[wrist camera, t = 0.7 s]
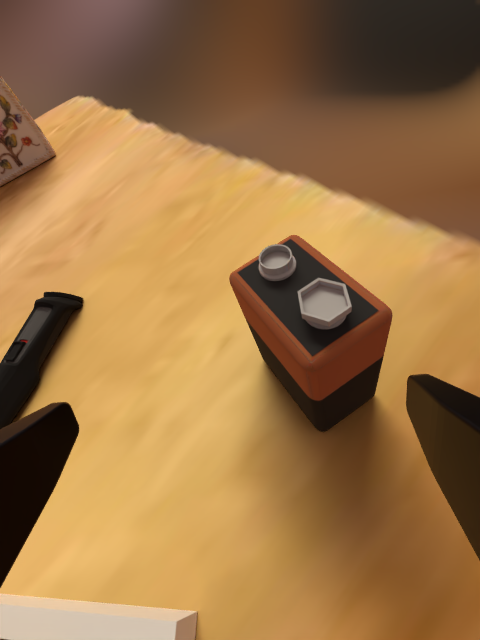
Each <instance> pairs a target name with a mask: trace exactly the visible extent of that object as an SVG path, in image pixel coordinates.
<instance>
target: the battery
mask: <svg viewBox="0 0 480 640" xmlns="http://www.w3.org/2000/svg"><path fill="white" fill-rule="evenodd" d="M229 279H230V284H231V286H232V288H233V291H234V293H235V295H236V298H237V300H238V302H239V305H240V307H241V309H242V311H243V314H244V316H245V318H246V321H247V323H248V325H249V328H250V330H251V332H252V335H253V337H254V339H255V341H256V344H257V346H258V348H259V351H260V353H261V355H262V357H263V359H264V361H265V362H266V364H267V365H268V366H269V368H270V369H271V370H272V371H273V373H274V374H275V375H276V377H277V378H278V379H279V381H280V382H281V383H282V385H283V386H284V387H285V389H286V390H287V391H288V392H289V394H290V395H291V396H292V398H293V399H294V400H295V402H296V403H297V404H298V406H299V407H300V408H301V410H302V411H303V412H304V414H305V415H306V416H307V417H308V419H309V420H310V421H311V423H312V424H313V425H314V426H315V428H316V429H317V430H319V431H322V432H324V431H327V430H328V429H330V428H331V427H332V426H334V425H335V424H337V423H338V422H339V421H341V420H342V419H343V418H345V417H346V416H348V415H349V414H350V413H352V412H353V411H354V410H356V409H357V408H359V407H360V406H361V405H363V404H364V403H365V402H367V401H368V400H370V399H371V398H372V397H373V396H374V394H375V391H376V386H377V382H378V378H379V373H380V369H381V365H382V360H383V356H384V351H385V347H386V343H387V338H388V334H389V330H390V325H391V321H392V311H391V309H390V308H389V307H388V306H387V305H386V304H384V303H383V302H382V301H381V300H380V299H378V298H377V297H376V296H374V295H373V294H372V293H371V292H369V291H368V290H367V289H366V288H364V287H363V286H362V285H360V284H359V283H358V282H357V281H355V280H354V279H353V278H352V277H350V276H349V275H348V274H347V273H345V272H344V271H343V270H341V269H340V268H339V267H338V266H336V265H335V264H334V263H333V262H331V261H330V260H329V259H327V258H326V257H325V256H324V255H322V254H321V253H320V252H319V251H317V250H316V249H315V248H313V247H312V246H311V245H310V244H308V243H307V242H306V241H305V240H303V239H302V238H300V237H299V236H297V235H291V236H289V237H287V238H286V239H284V240H282V241H281V242H279V243H278V244H275V245H271V246H268V247H266V248H265V249H264V250H262V252H261V253H260V255H259V256H257V257H256V258H254V259H252V260H251V261H249V262H248V263H246V264H245V265H243V266H241V267H240V268H238V269H237V270H235V271H234V272H232V273H231V274H230V278H229Z"/></svg>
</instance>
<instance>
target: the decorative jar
mask: <svg viewBox="0 0 480 640" xmlns="http://www.w3.org/2000/svg"><path fill="white" fill-rule="evenodd" d="M54 156H55V151H54V149H53V148H52V147H51V145H50V143H49V142H48V140H47V139H46V137H45V135H44V134H43V132H42V131H41V129H40V128H39V127H38V125H37V124H36V123H35V121H34V120H33V118H32V117H31V116H30V114H29V113H28V112H27V110H26V109H25V107H24V106H23V105H22V104H21V102H20V101H19V100H18V98H17V97H16V95H15V94H14V93H13V91H12V90H11V89H10V87H9V86H8V85H7V83H6V82H5V81H4V79H3V78H2V77H1V76H0V187H1V186H3V185H4V184H6V183H8V182H10V181H12V180H13V179H15V178H17V177H18V176H20V175H22V174H24V173H25V172H27V171H29V170H31V169H33V168H34V167H36V166H38V165H40V164H42V163H43V162H45V161H47V160H49V159H50V158H52V157H54Z"/></svg>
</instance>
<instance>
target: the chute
mask: <svg viewBox="0 0 480 640" xmlns="http://www.w3.org/2000/svg"><path fill="white" fill-rule="evenodd" d="M196 622H197V611H188V610H177V609H166V608H155V607H144V606H133V605H122V604H111V603H100V602H88V601H77V600H66V599H55V598H44V597H33V596H22V595H11V594H0V639H8V640H195V635H196Z"/></svg>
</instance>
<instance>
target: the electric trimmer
mask: <svg viewBox="0 0 480 640" xmlns="http://www.w3.org/2000/svg"><path fill="white" fill-rule="evenodd" d="M82 300H83V298H81V297H78V296H75V295H71V294H67V293H60V292H44V297H43V298H41V299H38V300H36V301H35V304H34V309H33V310H32V312H31V314H30V315H29V317H28V319H27V320H26V322H25V324H24V325H23V327H22V328H21V330H20V332H19V333H18V335H17V337H16V338H15V340H14V342H13V343H12V345H11V346H10V348H9V350H8V351H7V353H6V355H5V356H4V358H3V360H2V361H1V363H0V429H2V428H4V427H6V426H8V425H9V424H10V423H11V421H12V420H13V419H14V417H15V416H16V414H17V413H18V411H19V410H20V409H21V407H22V406H23V404H24V403H25V401H26V400H27V399H28V397H29V396H30V394H31V393H32V391H33V390H34V388H35V387H36V385H37V384H38V382H39V368H40V366H41V364H42V363H43V361H44V359H45V357H46V356H47V354H48V352H49V351H50V349H51V347H52V345H53V344H54V342H55V340H56V339H57V337H58V335H59V334H60V332H61V330H62V328H63V327H64V325H65V323H66V322H67V320H68V318H69V317H70V315H71V313H72V312H73V310H75V309H78V308H81V307H82V306H83V305H82V304H81V302H82Z"/></svg>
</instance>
